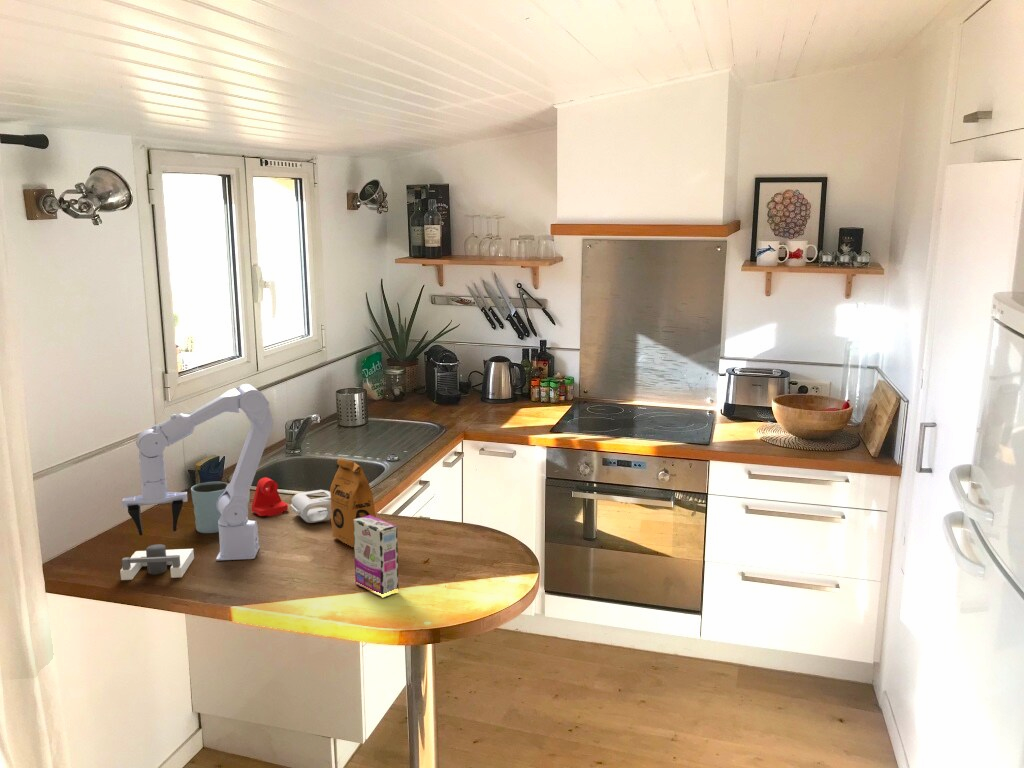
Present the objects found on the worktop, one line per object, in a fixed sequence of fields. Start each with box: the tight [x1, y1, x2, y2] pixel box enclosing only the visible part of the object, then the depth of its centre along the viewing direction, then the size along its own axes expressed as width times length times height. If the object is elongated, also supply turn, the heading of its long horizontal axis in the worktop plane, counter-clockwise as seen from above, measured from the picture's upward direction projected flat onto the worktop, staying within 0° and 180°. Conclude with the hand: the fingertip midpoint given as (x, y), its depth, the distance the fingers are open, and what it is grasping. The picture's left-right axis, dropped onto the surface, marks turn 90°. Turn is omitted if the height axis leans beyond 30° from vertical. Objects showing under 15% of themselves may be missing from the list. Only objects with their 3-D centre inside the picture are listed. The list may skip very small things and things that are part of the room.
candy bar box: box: [353, 515, 399, 594], centre depth 197 cm, size 11×5×16 cm, turn 45°
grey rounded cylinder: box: [145, 543, 168, 575], centre depth 208 cm, size 4×4×6 cm
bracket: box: [251, 477, 289, 518], centre depth 249 cm, size 9×6×10 cm
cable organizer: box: [289, 489, 331, 524], centre depth 244 cm, size 7×12×12 cm
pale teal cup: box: [190, 481, 229, 534], centre depth 237 cm, size 10×10×12 cm
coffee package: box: [329, 458, 377, 548], centre depth 226 cm, size 10×12×22 cm
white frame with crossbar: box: [119, 548, 195, 581], centre depth 209 cm, size 14×12×5 cm
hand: (158, 532), depth 208 cm, fingers open, 7 cm apart
